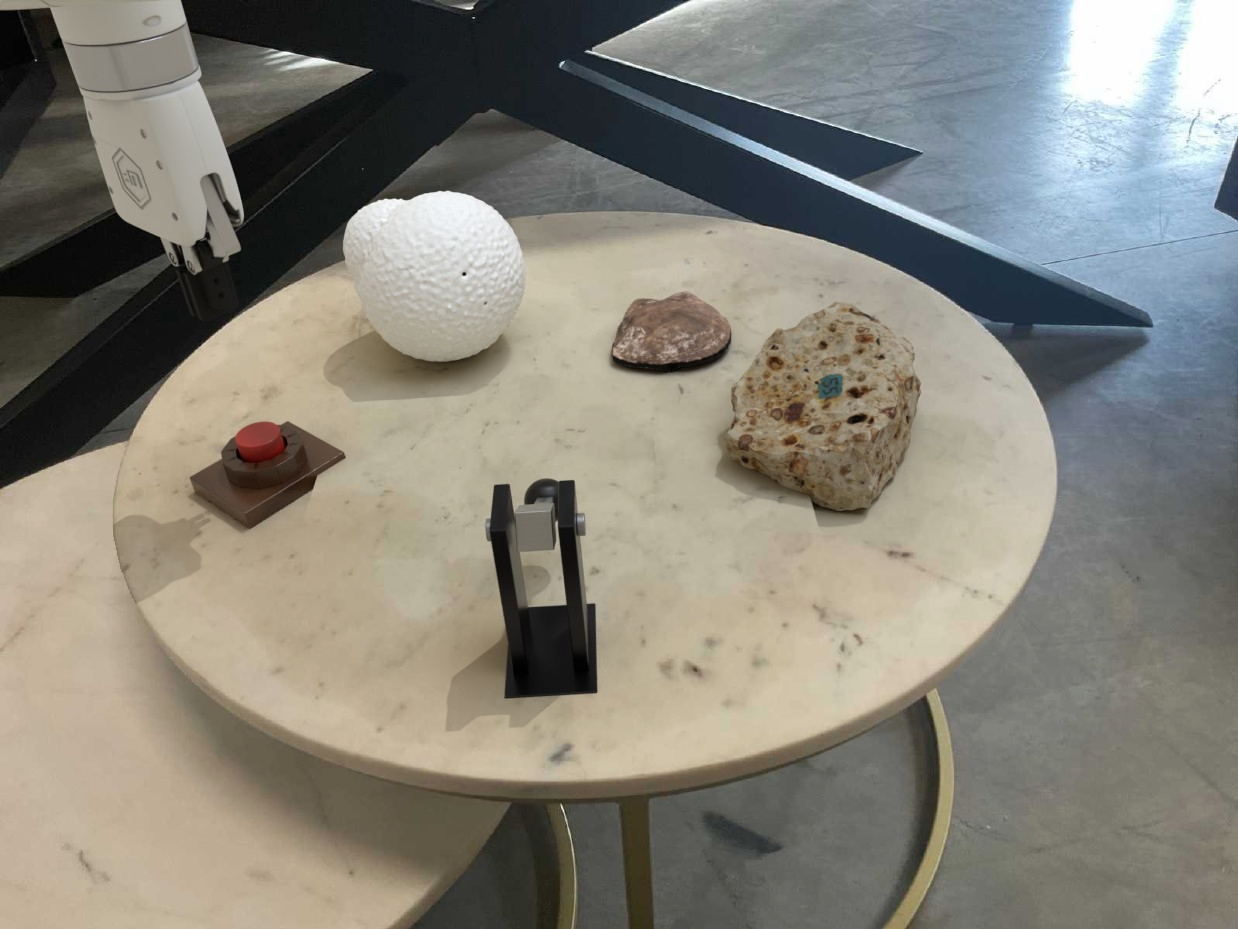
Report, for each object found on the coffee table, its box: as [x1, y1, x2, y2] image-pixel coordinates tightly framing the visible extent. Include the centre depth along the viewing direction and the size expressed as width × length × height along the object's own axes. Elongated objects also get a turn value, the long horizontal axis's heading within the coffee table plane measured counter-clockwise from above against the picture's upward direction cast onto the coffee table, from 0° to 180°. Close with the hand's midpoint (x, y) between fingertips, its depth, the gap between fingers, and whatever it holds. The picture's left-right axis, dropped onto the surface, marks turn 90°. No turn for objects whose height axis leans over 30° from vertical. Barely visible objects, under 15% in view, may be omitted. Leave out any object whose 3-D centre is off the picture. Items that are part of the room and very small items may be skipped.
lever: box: [514, 477, 559, 553], centre depth 68 cm, size 13×3×3 cm
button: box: [234, 421, 285, 463], centre depth 85 cm, size 4×4×2 cm
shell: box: [611, 290, 732, 373], centre depth 101 cm, size 12×13×4 cm
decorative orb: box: [310, 168, 527, 363], centre depth 99 cm, size 20×18×16 cm
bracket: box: [484, 479, 598, 700], centre depth 66 cm, size 8×6×14 cm
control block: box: [189, 420, 346, 530], centre depth 86 cm, size 10×8×4 cm
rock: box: [723, 300, 922, 512], centre depth 87 cm, size 21×14×10 cm
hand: (216, 311), depth 77 cm, fingers closed
